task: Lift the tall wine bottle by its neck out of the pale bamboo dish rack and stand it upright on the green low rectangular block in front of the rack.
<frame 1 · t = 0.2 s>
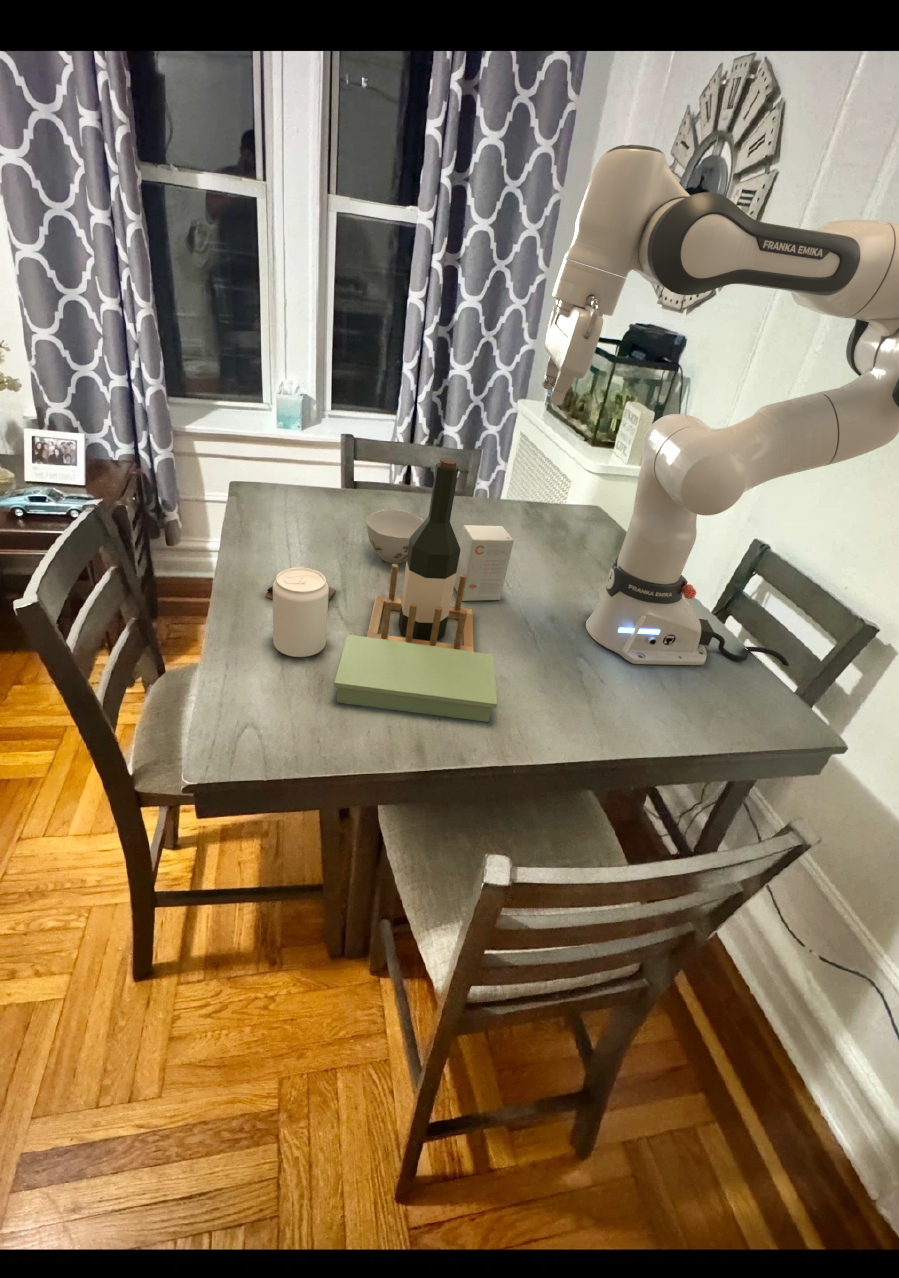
hand: (550, 395, 90), 40 cm above the table, tool pointing down, fingers open, 8 cm apart
bread roll: (301, 595, 108), on the table
beverage can: (299, 645, 96), on the table
wine bottle: (421, 631, 104), on the table
teacup: (399, 558, 125), on the table
green low rectangular block: (415, 688, 91), on the table
dish rack: (421, 630, 104), on the table
small box: (475, 593, 118), on the table
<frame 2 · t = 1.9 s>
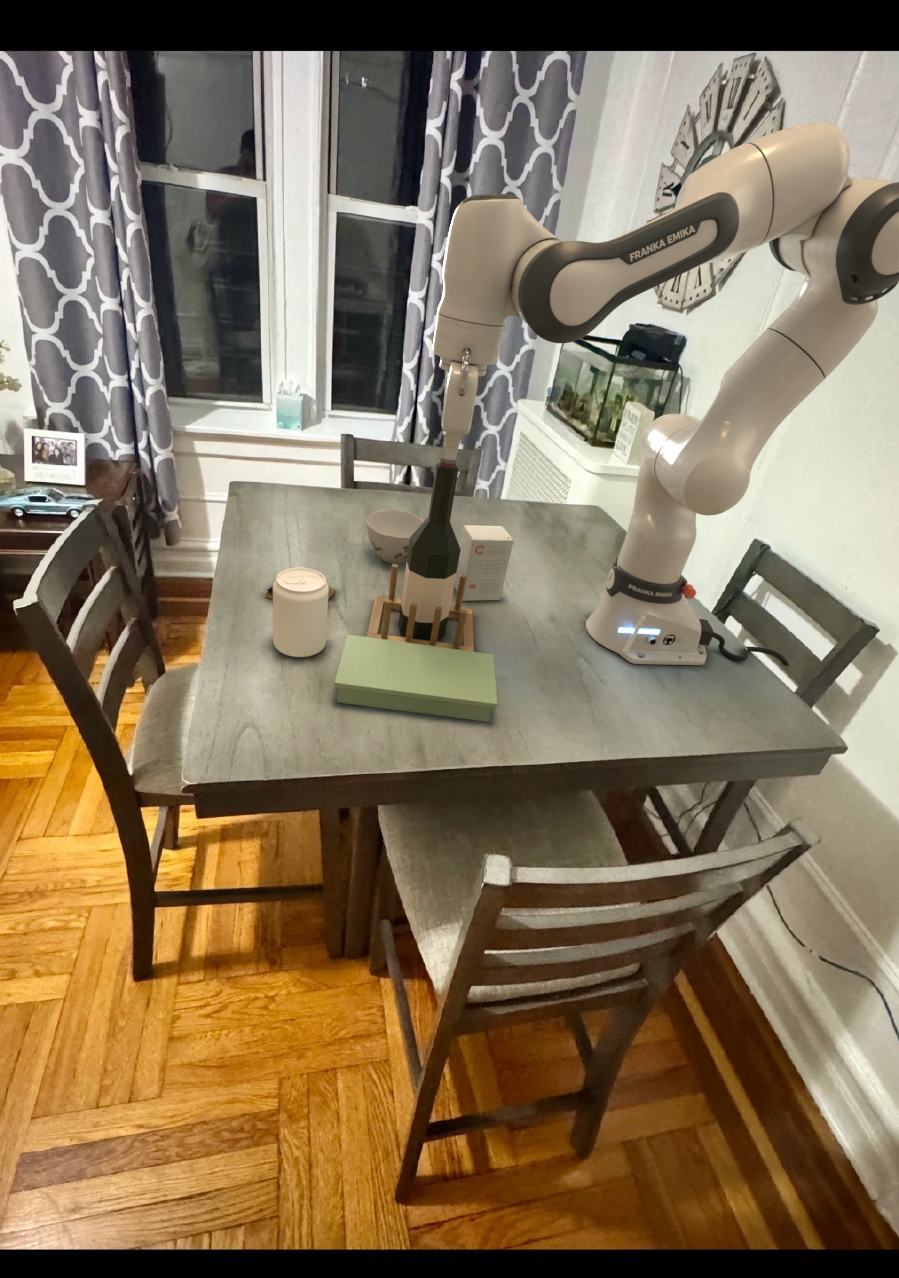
hand: (450, 447, 87), 32 cm above the table, tool pointing down, fingers open, 8 cm apart
nothing on the table moved.
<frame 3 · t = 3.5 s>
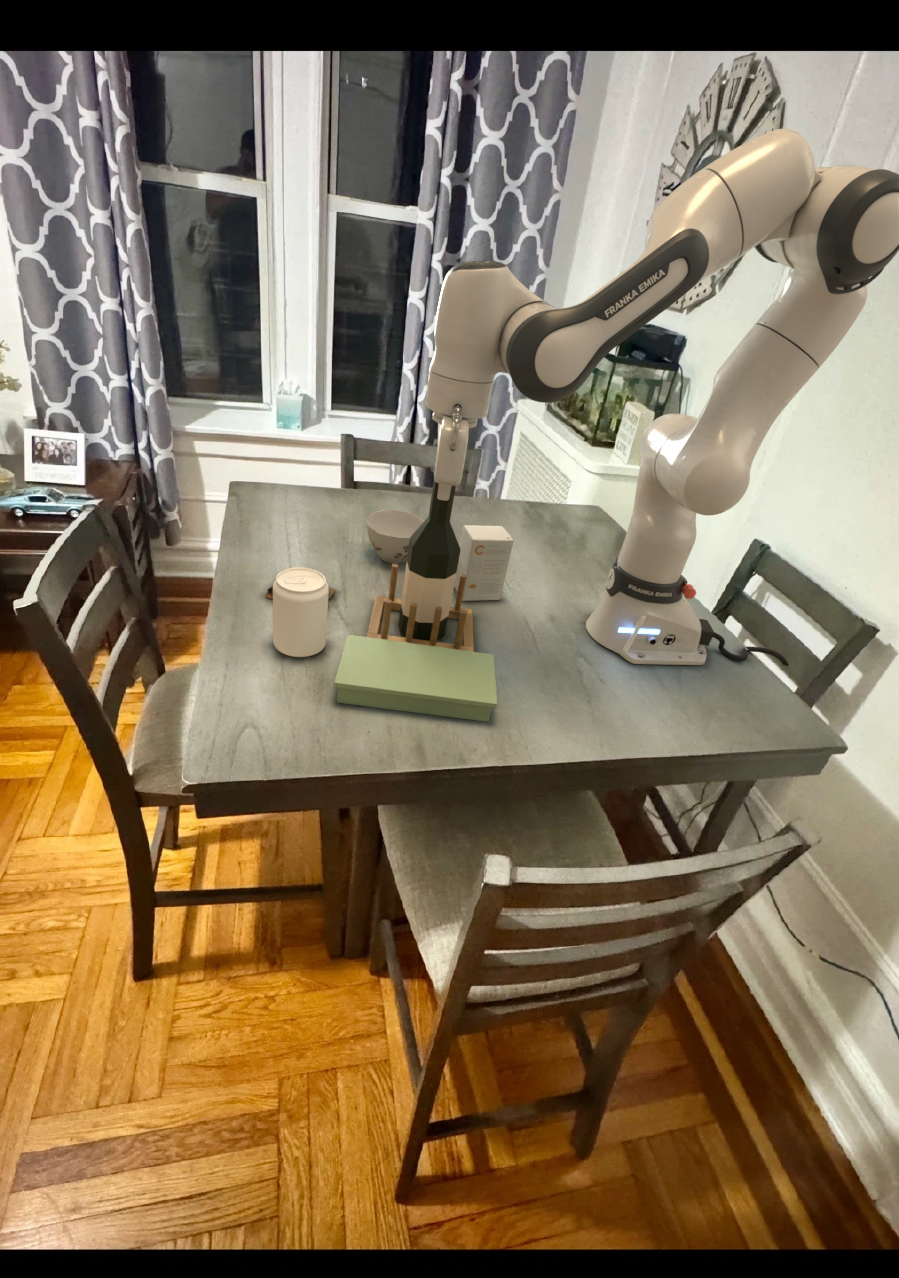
hand: (443, 492, 90), 25 cm above the table, tool pointing down, fingers closed on wine bottle, 3 cm apart
wine bottle: (421, 631, 104), on the table, touching gripper
everything else where it was.
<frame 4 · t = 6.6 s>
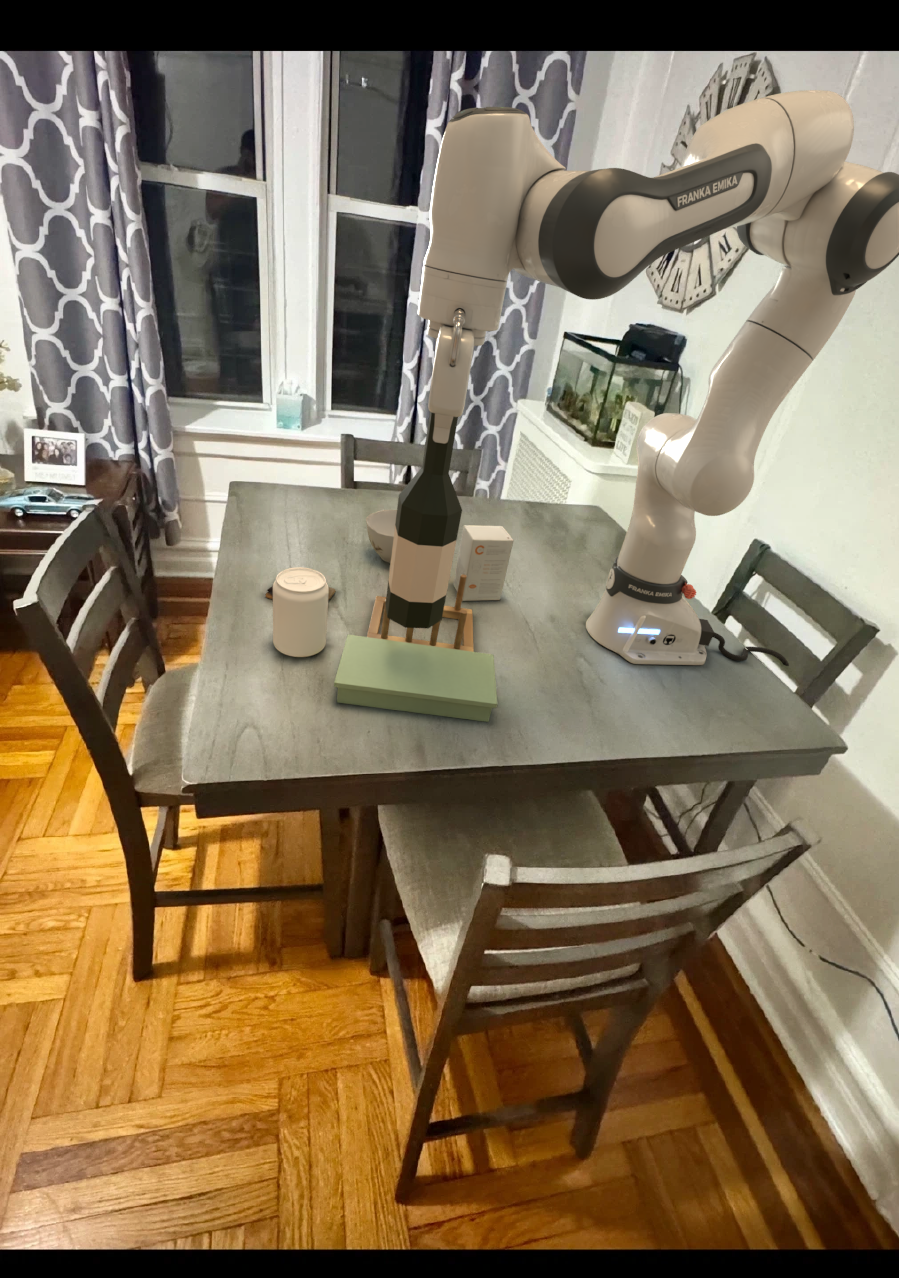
hand: (440, 435, 71), 37 cm above the table, tool pointing down, fingers closed on wine bottle, 3 cm apart
wine bottle: (413, 613, 85), point 12 cm above the table, touching gripper
everything else where it was.
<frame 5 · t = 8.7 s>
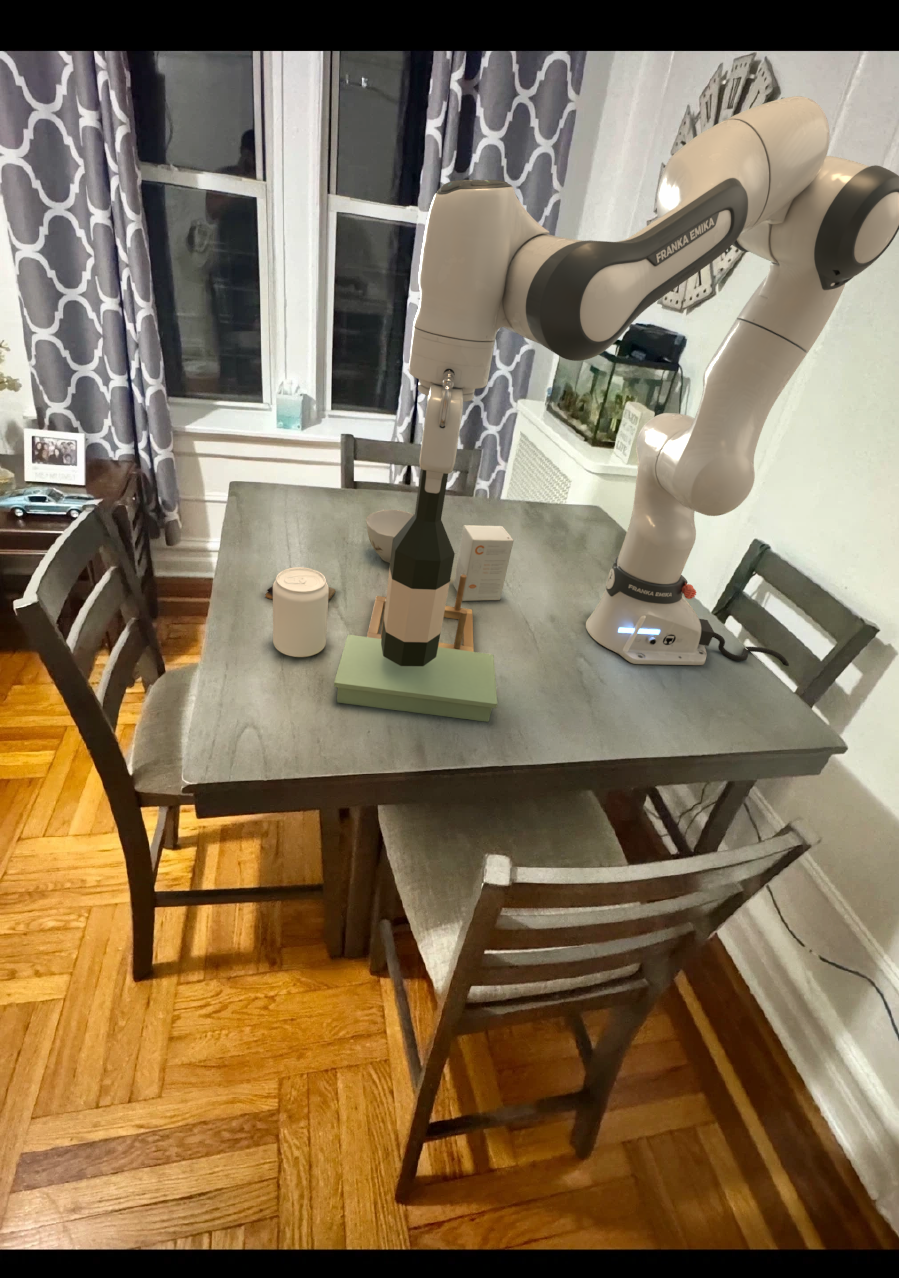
hand: (432, 483, 73), 32 cm above the table, tool pointing down, fingers closed on wine bottle, 3 cm apart
wine bottle: (408, 651, 87), point 7 cm above the table, touching gripper
everything else where it was.
when the fingers open (29 cm above the table, at t = 9.9 s): wine bottle stays where it is, resting on green low rectangular block.
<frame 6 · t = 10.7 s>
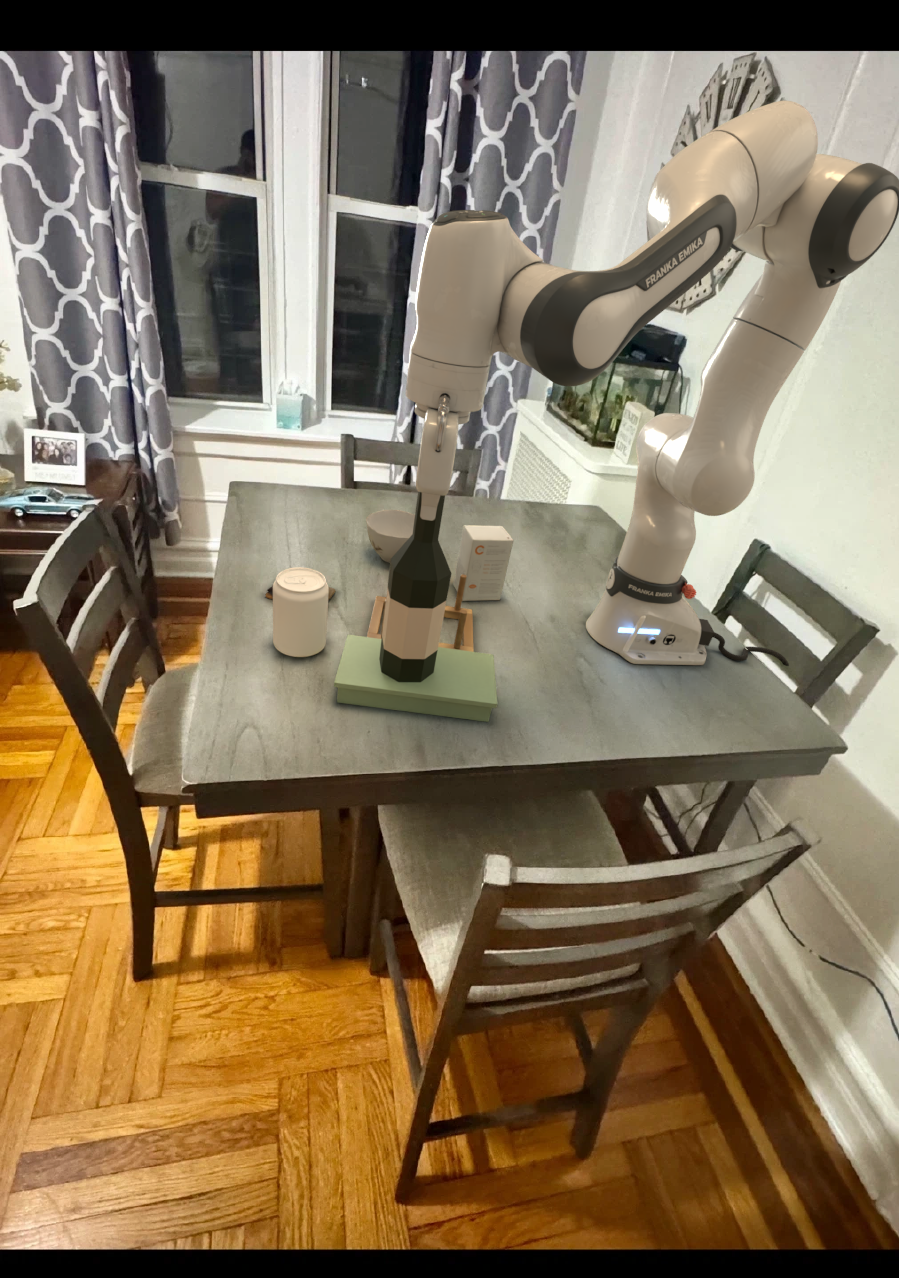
hand: (429, 502, 74), 30 cm above the table, tool pointing down, fingers open, 8 cm apart
wine bottle: (406, 666, 89), point 4 cm above the table, touching green low rectangular block
everything else where it was.
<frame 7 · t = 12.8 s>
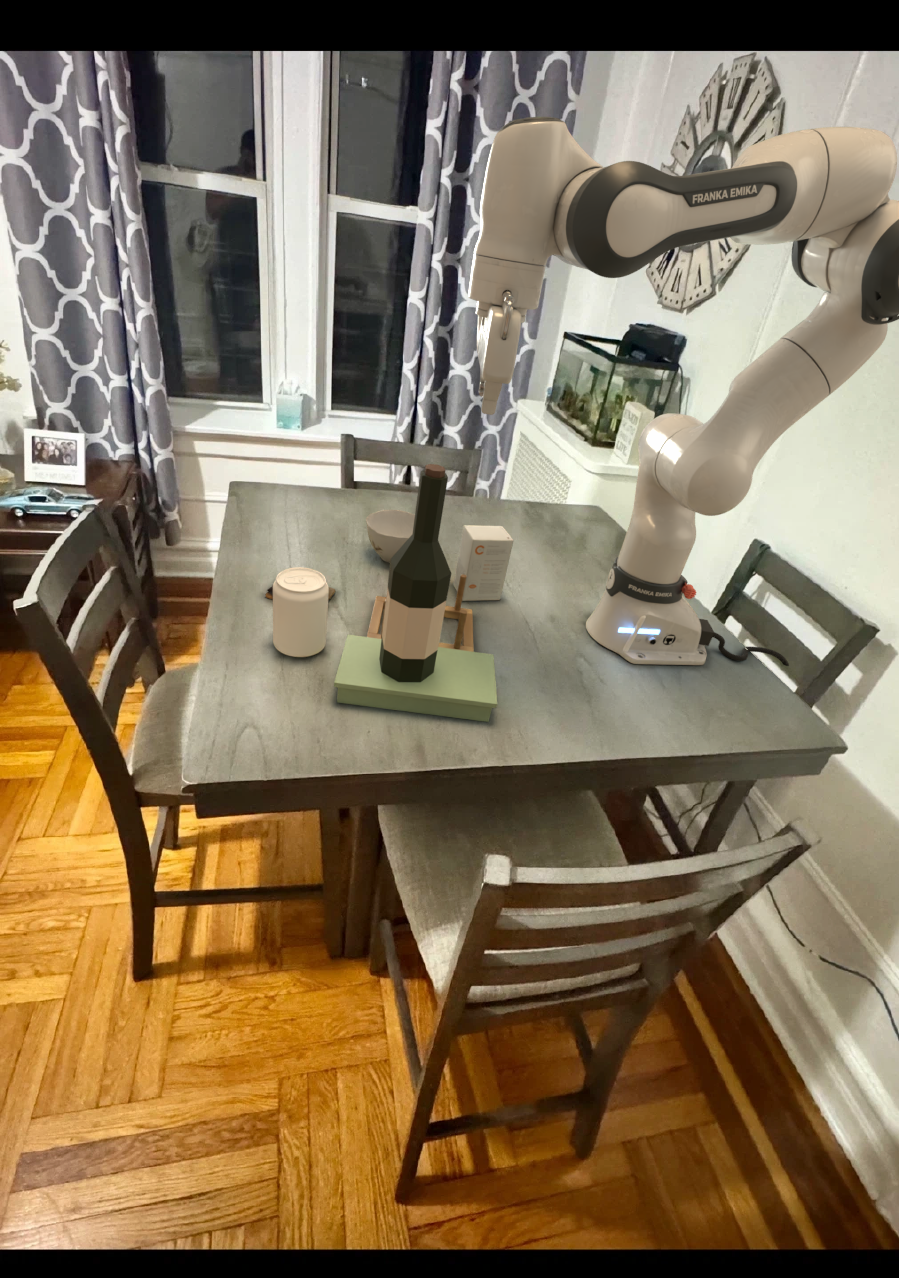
hand: (485, 404, 82), 39 cm above the table, tool pointing down, fingers open, 8 cm apart
nothing on the table moved.
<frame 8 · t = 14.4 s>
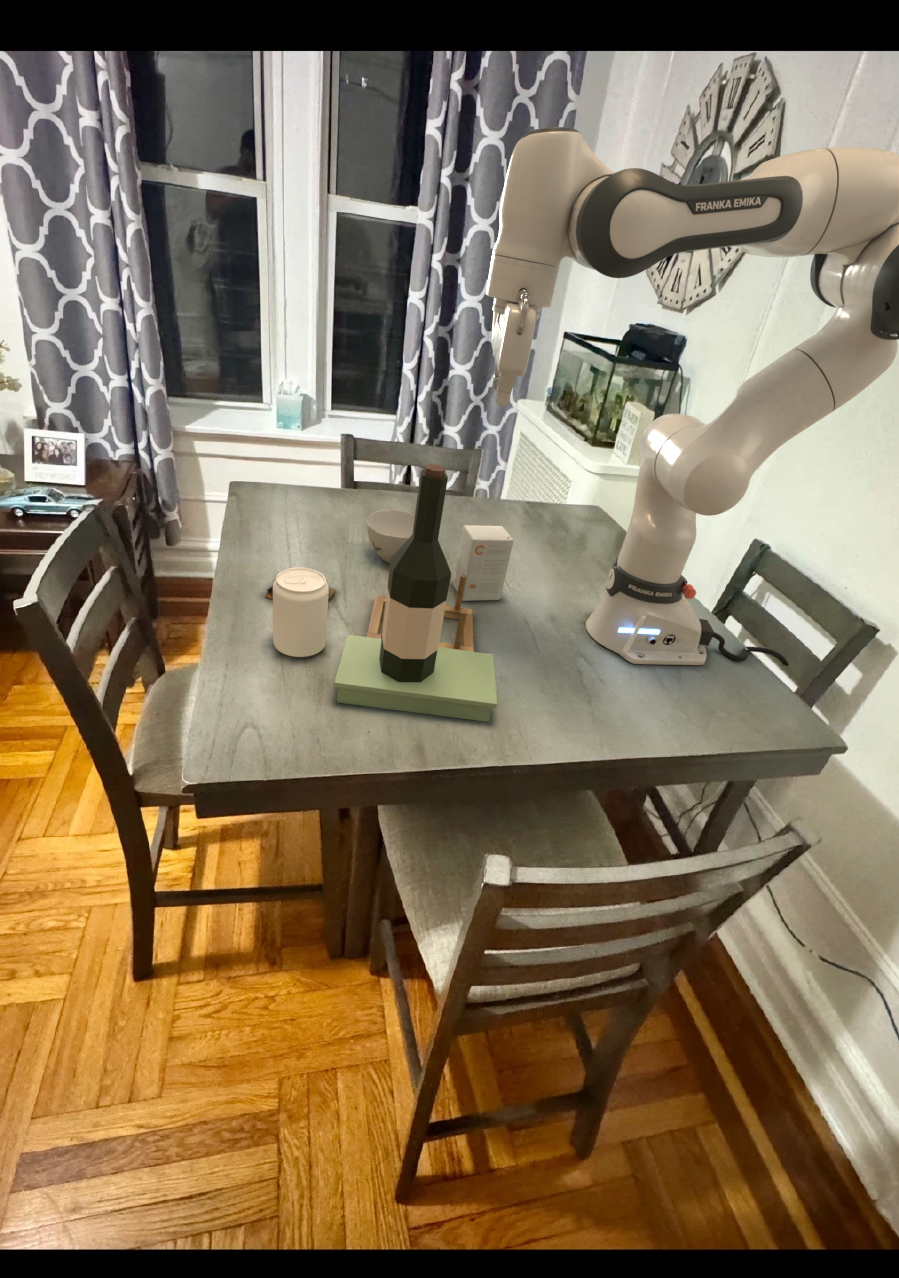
hand: (499, 396, 86), 39 cm above the table, tool pointing down, fingers open, 8 cm apart
nothing on the table moved.
at the end: wine bottle inside the target area on the green low rectangular block (1.9 cm from its centre), point 3.8 cm above the green low rectangular block's base; wine bottle tilted 0°; the gripper is holding nothing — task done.
